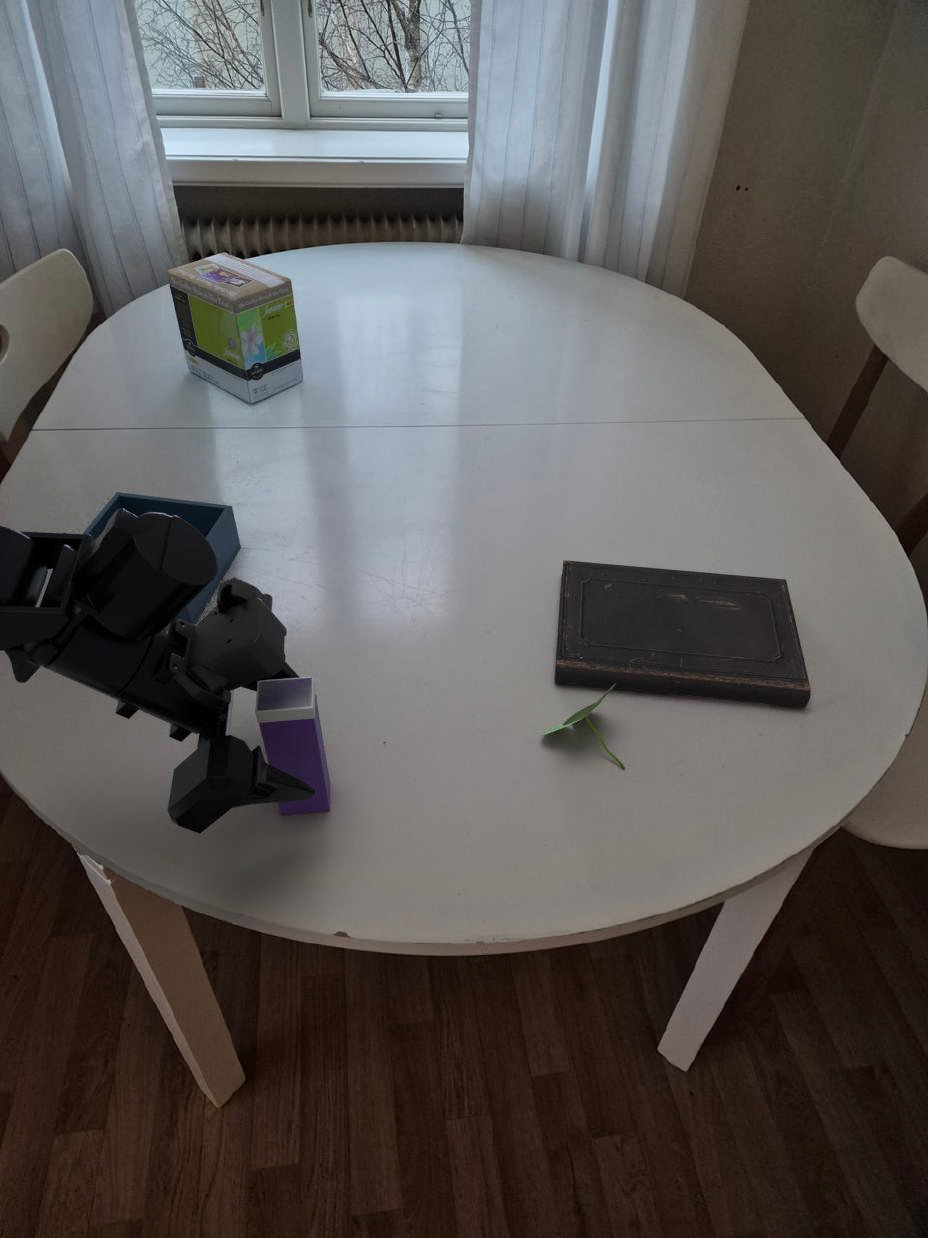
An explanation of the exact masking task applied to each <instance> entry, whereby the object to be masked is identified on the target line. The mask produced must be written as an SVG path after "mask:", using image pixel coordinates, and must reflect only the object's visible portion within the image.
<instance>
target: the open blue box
mask: <svg viewBox="0 0 928 1238" xmlns="http://www.w3.org/2000/svg"><path fill="white" fill-rule="evenodd" d="M120 508H123V509H125V510H127V511H129V512H130V513H132V514H134V515H136V516H137V517H139V516H140V515H143V514H145V513H150V512H157V513H164V514H167V515H169V516H172V517H173V516H174V515H176V516H178V517H180V518H182V519H184V520H185V521H187V522H188V523H189V524H191V525H192V526H194V527H195V528H196V529H197V530H198V531H199V532H200V533H201V534H202V535H203V536H204V537H205V539H206V540H207V541H208V542H209V544H210V546H211V547H212V549H213V551H214V553H215V556H216V559H217V565H218V571H217V574H216V576H215V578H214V579H213V580H212V581H211V582H210V583H209V584H208V585H207V586H206V587H205V588H204V589H203V590H202V591H201V592H200V593H199V594H198V595H197V596H196V597H195V598H194V599H193V600H192V601H191V602H190V603H189V604H188V605H187V606H186V607H185V608H184V609H183V610H182V611H181V612H180V613H179V614H178V615H177V616H176V617H175V618H174V619H176V620H179V619H182V620H184V621H186V622H188V623H190V624H193V625H196V623H197V621H198V619H199V618H200V616H201V614H202V613H203V611H204V610H205V608H206V607H207V604H209V601H210V599H211V598H212V596H213V594H214V592H215V591H216V590H217V589H218V587H219V584H221V581H222V579H223V578H224V576H225V574H226V573H227V571H228V569H229V568H230V566H231V564H232V562H233V561H234V559H235V557H236V556H237V554H238V553H239V551H240V549H241V548H242V547H241V541H240V537H239V532H238V527H237V523H236V518H235V515H234V514H235V513H234V508H233V505H229V504H228V505H227V504H221V503H213V502H212V503H211V502H203V501H194V500H188V499H178V498H171V497H164V496H163V497H161V496H153V495H145V494H137V493H129V492H119V491H116V492H115V494H113V496H112V497H111V498H110V500H109V501H108V502H107V503H106V504H105V506H104V507H103V508H102V509H101V511H100V512H99V513H97V515H96V516H95V518H94V519H93V520H92V521H91V522H90V524H89V525H88V526H87V527H86V529H84V531H83V532H82V534H88V535H91V536H92V537H93V538H94V541H95V540H96V539H97V538H98V537H99V536H100V534H101V533H102V532H103V531H104V529H105V527H106V525H107V522H108V520H109V519H110V518H111V516H112V515H113V514H114V513H115V512H116V511H117V510H118V509H120Z"/></svg>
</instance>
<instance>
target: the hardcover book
mask: <svg viewBox="0 0 928 1238" xmlns="http://www.w3.org/2000/svg"><path fill="white" fill-rule="evenodd" d="M560 577H561V578H560V591H559V605H558V606H559V607H558V620H557V621H558V622H557V637H556V650H555V665H554V679H553V680H554V683H556V684H564V685H565V684H566V685H574V686H575V685H576V686H584V687H585V686H586V687H597V688H606V689H607V688H608V689H610V688H611V687H612V686H613V685H614V684H615V683H616V684H615V686H614V687H613V689H617V690H618V689H619V690H625V691H637V692H647V693H655V694H656V693H657V694H665V695H666V694H667V695H677V696H688V697H697V698H698V697H699V698H709V699H716V700H717V699H718V700H728V701H737V702H749V703H758V704H768V705H779V706H788V707H790V706H791V707H798V708H806V707H807V706H808V704H809V702H810V700H811V695H812V694H811V693H812V690H811V683H810V680H809V676H808V671H807V666H806V662H805V658H804V653H803V649H802V643H801V639H800V635H799V630H798V626H797V622H796V617H795V613H794V609H793V608H794V607H793V603H792V598H791V595H790V591H789V586H788V581H787V579H785V578H773V577H761V576H750V575H739V574H728V573H716V572H705V571H692V570H681V569H680V570H679V569H670V568H658V567H647V566H636V565H624V564H612V563H602V562H590V561H589V562H588V561H577V560H569V559H568V560H567V559H563V560H562V572H561V576H560Z"/></svg>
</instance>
